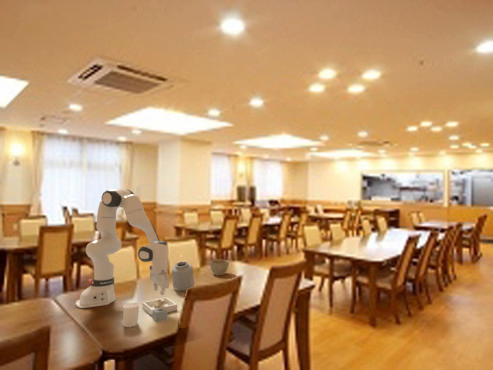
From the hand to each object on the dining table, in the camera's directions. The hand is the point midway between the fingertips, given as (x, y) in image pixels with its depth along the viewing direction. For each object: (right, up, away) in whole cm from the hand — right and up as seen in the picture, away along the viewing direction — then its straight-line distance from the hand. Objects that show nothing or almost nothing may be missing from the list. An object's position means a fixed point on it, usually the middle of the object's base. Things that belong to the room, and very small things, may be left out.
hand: (158, 292), depth 188 cm
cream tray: (0, -10, 0) cm, 10 cm away
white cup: (-9, -10, -22) cm, 25 cm away
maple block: (0, -9, 0) cm, 9 cm away
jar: (+6, -11, +37) cm, 39 cm away
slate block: (+4, -10, -14) cm, 18 cm away
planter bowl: (+28, -12, +80) cm, 86 cm away
